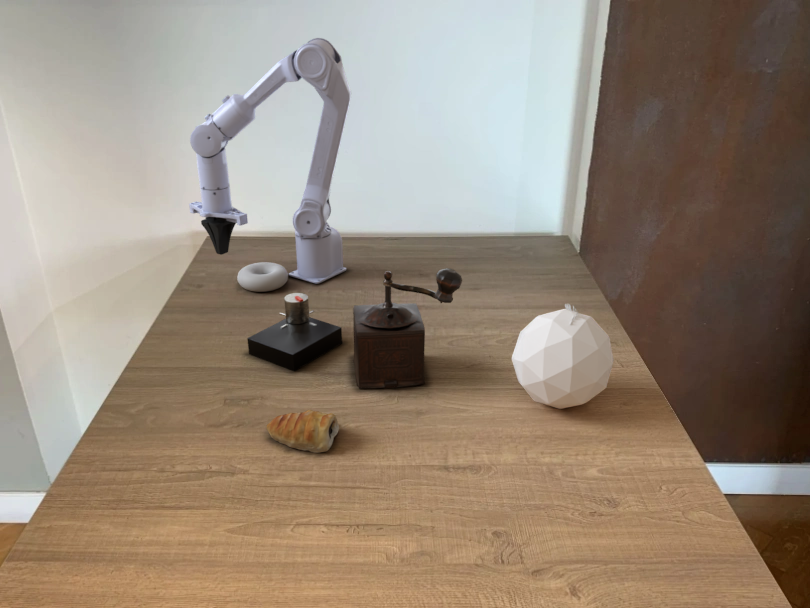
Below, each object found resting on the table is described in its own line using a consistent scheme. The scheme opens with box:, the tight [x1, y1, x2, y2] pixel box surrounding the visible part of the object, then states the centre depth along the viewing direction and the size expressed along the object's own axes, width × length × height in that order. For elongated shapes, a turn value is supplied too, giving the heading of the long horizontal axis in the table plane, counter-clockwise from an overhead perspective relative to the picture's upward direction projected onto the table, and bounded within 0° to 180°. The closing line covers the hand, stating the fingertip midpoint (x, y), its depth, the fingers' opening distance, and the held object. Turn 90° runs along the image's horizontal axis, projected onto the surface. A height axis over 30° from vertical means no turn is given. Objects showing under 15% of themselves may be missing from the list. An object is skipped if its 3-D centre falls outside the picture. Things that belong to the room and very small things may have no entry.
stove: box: [246, 310, 343, 372], centre depth 124 cm, size 14×12×3 cm
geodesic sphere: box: [511, 303, 615, 410], centre depth 105 cm, size 15×14×14 cm
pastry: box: [266, 409, 340, 454], centre depth 99 cm, size 9×7×4 cm
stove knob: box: [283, 292, 310, 324], centre depth 125 cm, size 4×4×4 cm
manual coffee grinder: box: [352, 268, 463, 390], centre depth 112 cm, size 16×11×18 cm
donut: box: [236, 261, 289, 293], centre depth 147 cm, size 10×4×10 cm
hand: (222, 252), depth 151 cm, fingers closed
